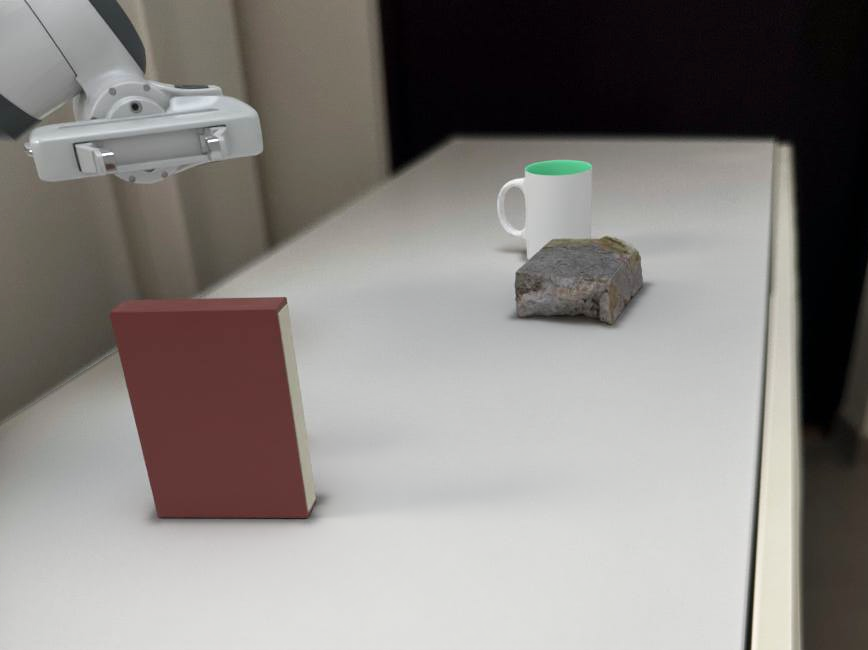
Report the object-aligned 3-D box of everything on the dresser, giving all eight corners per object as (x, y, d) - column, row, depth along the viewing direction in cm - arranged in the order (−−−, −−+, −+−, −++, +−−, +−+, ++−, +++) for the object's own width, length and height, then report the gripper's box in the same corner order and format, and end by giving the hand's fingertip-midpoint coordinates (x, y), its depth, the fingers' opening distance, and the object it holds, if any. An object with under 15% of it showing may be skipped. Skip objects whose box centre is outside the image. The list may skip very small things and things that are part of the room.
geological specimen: (510, 274, 111) (555, 227, 122) (515, 330, 115) (557, 280, 125) (608, 278, 107) (645, 230, 118) (610, 335, 111) (645, 283, 122)
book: (157, 517, 82) (108, 311, 73) (170, 500, 85) (124, 299, 76) (308, 518, 81) (277, 308, 72) (317, 501, 83) (288, 296, 75)
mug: (488, 262, 132) (484, 173, 126) (508, 244, 138) (505, 158, 132) (581, 267, 128) (582, 176, 122) (597, 248, 134) (599, 160, 128)
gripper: (11, 107, 95) (25, 131, 85) (234, 82, 101) (272, 102, 91) (31, 181, 99) (47, 213, 88) (245, 153, 105) (283, 180, 95)
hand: (163, 157), depth 90 cm, fingers open, 8 cm apart
